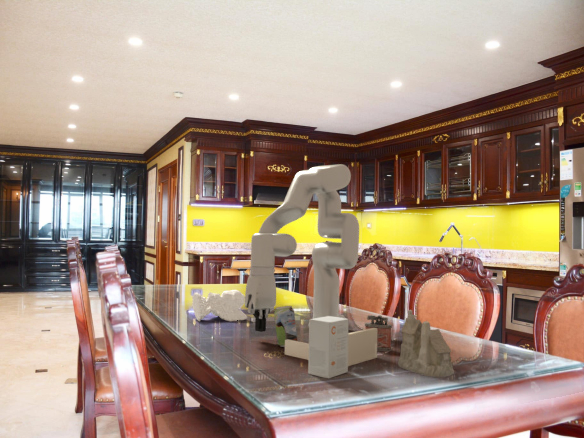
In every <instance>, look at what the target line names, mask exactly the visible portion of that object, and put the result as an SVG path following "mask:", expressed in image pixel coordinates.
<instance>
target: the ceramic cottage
mask: <svg viewBox="0 0 584 438" xmlns="http://www.w3.org/2000/svg"><path fill="white" fill-rule="evenodd" d="M400 332H401V334H402V337H401V338H402V343H401V344H400V356H399V359H398V364H397V365H398V367H399V368H400V369H403V370H406V371H409V372H412V373H415V374H419V375H421V376H426V377H430V378H433V377H434V378H444V377H450V376H452V375H455V370H454V368H453V362H452V357H451V353H452V349H451V347H450V346H449V345H448V344H447V342H446V340H445V339H444V336H443V335H442V332H441V331H440V329H439V328H436V329H431V323H430V322H429V321H427V320H426V321H423V322H422V321H421V320H420V319H416V316H415V314H413V310H412V309H408V310H407V317H405V322H404V324H403V326H402V327H401V331H400Z"/></svg>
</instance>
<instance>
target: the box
mask: <svg viewBox="0 0 584 438" xmlns="http://www.w3.org/2000/svg"><path fill="white" fill-rule="evenodd" d="M284 355H286V356H289V357H294V358H298V359H302V360H307V361H308V359H309V342H302V341H294V340H289V339H287V340H285V347H284ZM376 358H378V350H377V328H370V329H366V330H365V329H362V330H361V329H360V330H358V331H357V330H356V331H352V332H348V367H350V366H353V365H356V364H360V363H363V362H366V361H370V360H373V359H376Z"/></svg>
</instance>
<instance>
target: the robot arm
mask: <svg viewBox="0 0 584 438" xmlns="http://www.w3.org/2000/svg"><path fill="white" fill-rule="evenodd" d="M351 176H352V173H351V170H350V169H349V167H348V166H347V165H346V164H342V163H341V164H339V163H338V164H328V165H325V164H324V165H318V166H313V167H311V168H309V169H303V170H300V171H298V172H296V174H295V175H294V178H293V179H292V181H291V183H290V186H289V188H288V190H287V193H286V195H285V198H284V200H283V203H282V204H281V205H280V206H278V207H277V208H276V209H275V210H274V211H273V212H271V213H270V215H268V216H267V217H266V218H265V220H264V221H263V222H262V224H261V226H260V228H259V231H258V232H256V233H254V234H252V236H251V242H250V243H251V244H250V246H251V248H250V272H249V273H250V274H249V276H248V278H247V282H246V287H245V293H244V296H245V302H244V308H246V309H247V313H248V314H250V315H251V314H252V315H253V318H254V319H255V322H254V323H255V324H254V330H255V331H256V332H260V333H262V332H266V331H267V319H268V317H269V314H270V313H271V312H273V311H275V307H276V304H277V286H276V285H277V283H276V277H275V272H276V269H275V258H276V257H283V258H285V257H289V256H292V255H293V254H294V253H295V252H296V250H297V245H298V244H297V240H296V238H295V237H294V236H293V235H292V234H289V233H278V232H279V231H281V229H282V228H283V227H285V226H287V225H288V224H291V223H293V222H295V221H297V220H299V219H301V218H303V217H304V216H305V215H306V213H307V211H308V209H309V205H310V203H311V201H312V198H313V196H314V195H316V197H317V202H318V211H317V233H318V235H319V236H320V238H324V239H332V240H333V239H334V240H337V239H338V240H340V242H338V241H337V242H335V241H323V242H319V243H317V244H315V245H314V247H313V248H312V252H311V260H312V266H313V298H312V302H313V304H312V305H313V306H312V307H313V308H312V319H314V318H320V317H326V316H333V317H340V318H346V317H345V315H344V314H339V311H340V282H341V281H340V277H339V274H338V273H337V270H336V269H341V270H350V269H352V268H354V267H355V266H356V265H357V262H358V259H359V249H360V248H359V244H360V243H359V242H360V223H359V220H358V218H357V217H356V215H355V214H353V213H352V212H351V213H350V212H342V200H341V196H340V194H339V192H338V191H339V190H341V189H344V188H346V187H347V186H348V185H349V184H350V181H351V180H352V179H351V178H352V177H351Z"/></svg>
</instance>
